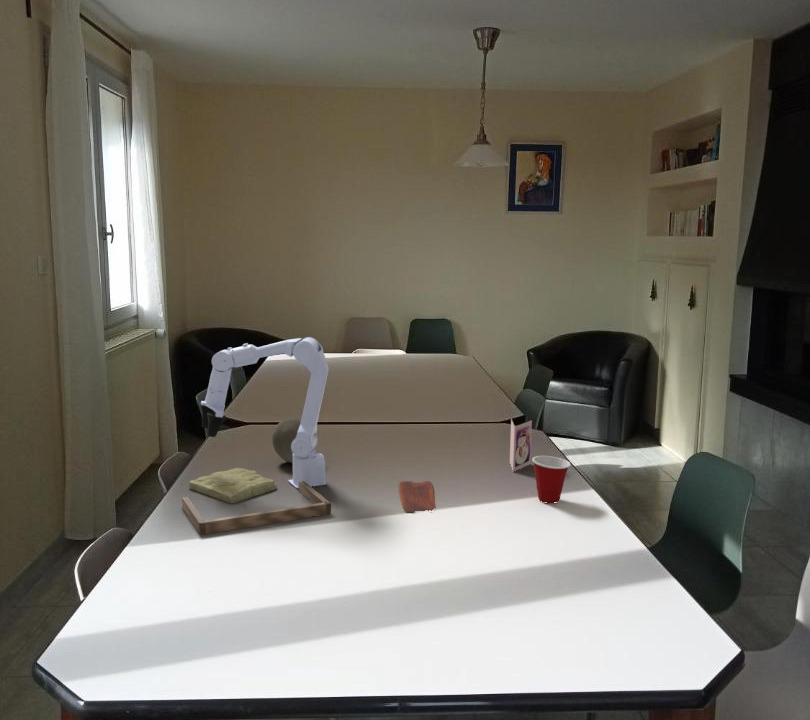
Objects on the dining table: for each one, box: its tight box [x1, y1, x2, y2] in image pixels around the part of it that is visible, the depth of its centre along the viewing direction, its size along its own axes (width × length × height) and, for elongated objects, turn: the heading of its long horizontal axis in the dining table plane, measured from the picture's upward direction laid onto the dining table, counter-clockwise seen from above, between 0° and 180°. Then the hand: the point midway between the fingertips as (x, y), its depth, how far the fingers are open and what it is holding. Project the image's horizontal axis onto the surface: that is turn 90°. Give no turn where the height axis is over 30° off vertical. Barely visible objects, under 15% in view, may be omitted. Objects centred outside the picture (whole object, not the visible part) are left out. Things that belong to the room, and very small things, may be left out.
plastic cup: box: [531, 455, 572, 504], centre depth 222 cm, size 11×11×12 cm
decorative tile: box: [188, 467, 278, 504], centre depth 230 cm, size 18×20×4 cm
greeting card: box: [509, 418, 533, 473], centre depth 254 cm, size 11×7×15 cm, turn 143°
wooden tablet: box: [398, 480, 436, 513], centre depth 225 cm, size 27×10×2 cm, turn 1°
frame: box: [181, 481, 332, 536], centre depth 211 cm, size 35×22×3 cm, turn 117°
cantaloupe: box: [271, 418, 302, 465], centre depth 255 cm, size 14×14×15 cm
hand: (208, 432), depth 235 cm, fingers open, 7 cm apart
